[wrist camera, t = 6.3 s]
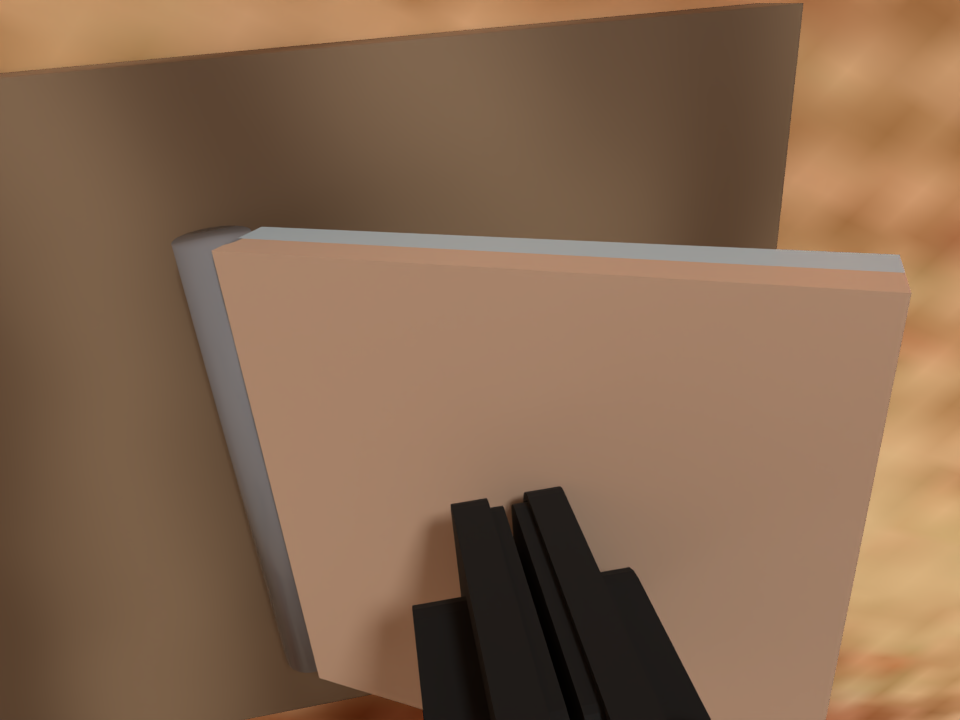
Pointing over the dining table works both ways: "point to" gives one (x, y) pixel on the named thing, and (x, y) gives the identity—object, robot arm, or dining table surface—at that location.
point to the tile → (553, 432)
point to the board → (309, 205)
